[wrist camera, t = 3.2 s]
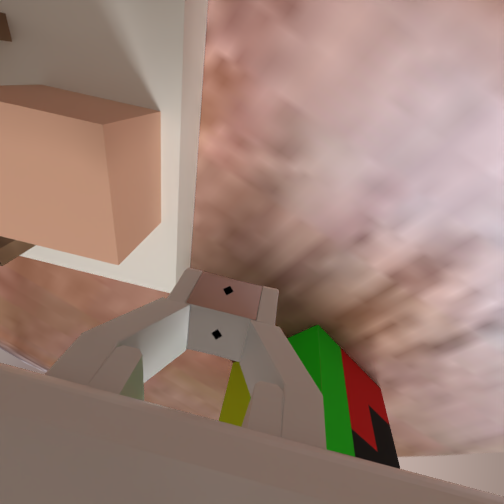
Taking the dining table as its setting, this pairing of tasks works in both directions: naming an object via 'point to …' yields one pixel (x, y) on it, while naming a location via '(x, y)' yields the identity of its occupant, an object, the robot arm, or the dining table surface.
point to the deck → (123, 101)
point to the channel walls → (3, 248)
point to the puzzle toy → (331, 399)
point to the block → (78, 171)
